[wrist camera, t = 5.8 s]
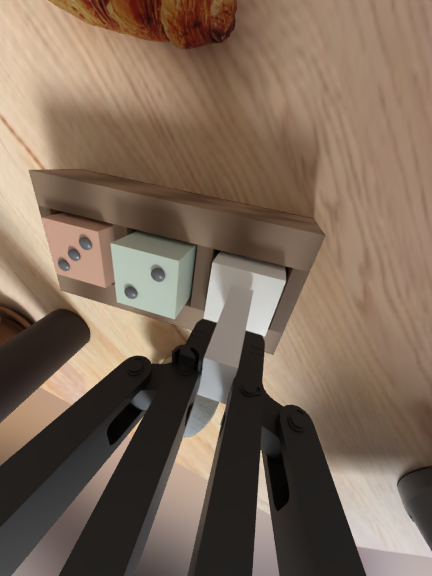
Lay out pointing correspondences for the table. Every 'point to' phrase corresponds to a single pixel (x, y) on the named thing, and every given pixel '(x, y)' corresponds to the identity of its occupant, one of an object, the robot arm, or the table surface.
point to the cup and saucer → (11, 324)
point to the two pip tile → (153, 272)
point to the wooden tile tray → (184, 235)
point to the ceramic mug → (198, 412)
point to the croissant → (160, 18)
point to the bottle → (37, 356)
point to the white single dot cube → (247, 275)
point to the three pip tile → (81, 247)
